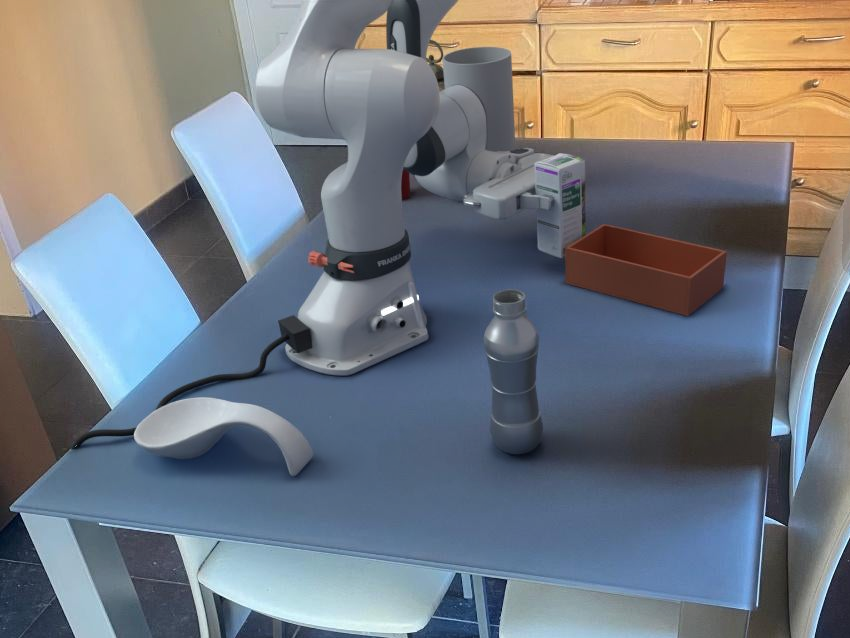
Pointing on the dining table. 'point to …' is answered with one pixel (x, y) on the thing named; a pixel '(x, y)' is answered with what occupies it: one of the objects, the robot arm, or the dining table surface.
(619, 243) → the bin
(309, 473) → the dining table surface
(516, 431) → the plastic bottle
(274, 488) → the dining table surface
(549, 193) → the syrup box
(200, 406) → the spoon rest
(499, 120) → the cylinder vase
